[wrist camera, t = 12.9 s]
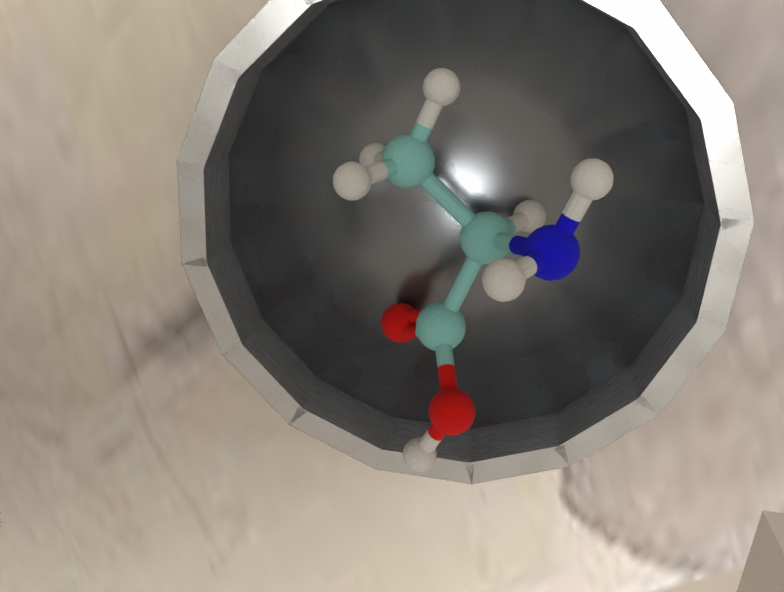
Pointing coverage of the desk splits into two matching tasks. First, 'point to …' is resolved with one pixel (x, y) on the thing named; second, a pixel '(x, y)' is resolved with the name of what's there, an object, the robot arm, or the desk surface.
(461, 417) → the molecular model
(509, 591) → the desk surface
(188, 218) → the shallow grey dish
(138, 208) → the desk surface
